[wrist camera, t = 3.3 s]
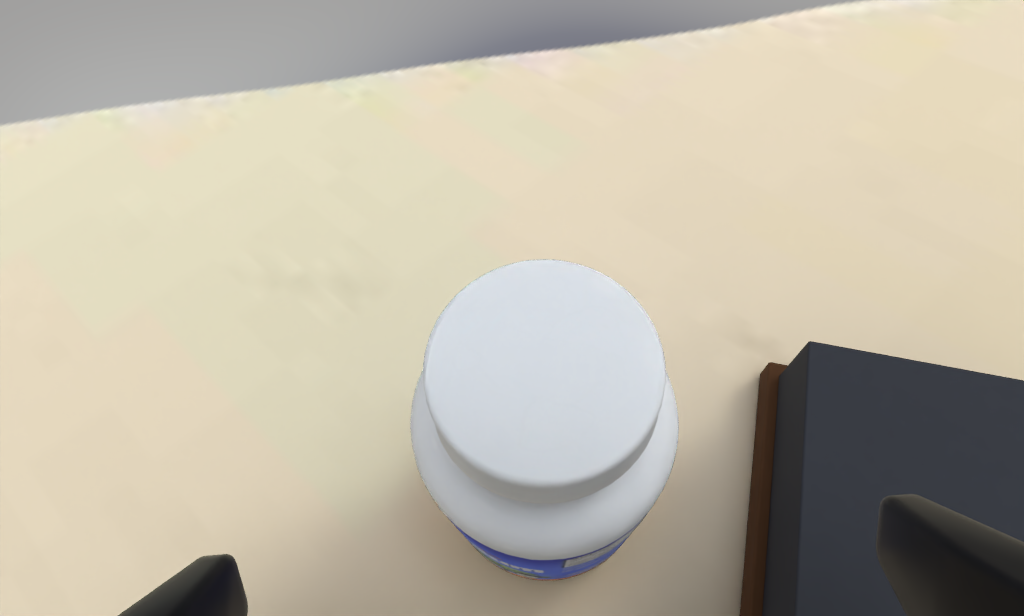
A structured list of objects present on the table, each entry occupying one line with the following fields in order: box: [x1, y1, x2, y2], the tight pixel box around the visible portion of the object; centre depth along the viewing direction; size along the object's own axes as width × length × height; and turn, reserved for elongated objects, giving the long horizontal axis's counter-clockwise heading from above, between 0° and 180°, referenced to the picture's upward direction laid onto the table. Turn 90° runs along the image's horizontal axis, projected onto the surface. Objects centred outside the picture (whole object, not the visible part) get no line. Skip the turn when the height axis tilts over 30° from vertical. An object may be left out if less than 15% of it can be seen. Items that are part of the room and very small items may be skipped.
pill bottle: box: [411, 259, 678, 581], centre depth 15 cm, size 5×5×10 cm
